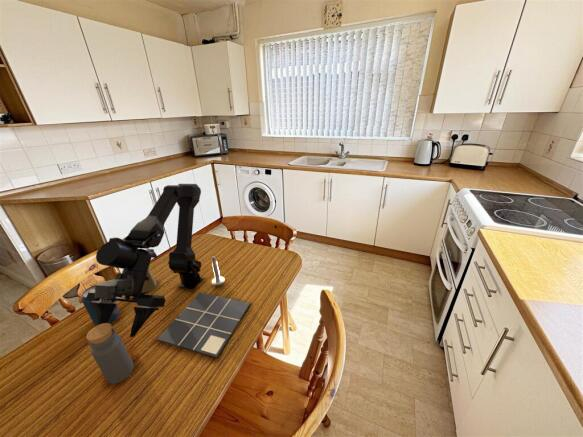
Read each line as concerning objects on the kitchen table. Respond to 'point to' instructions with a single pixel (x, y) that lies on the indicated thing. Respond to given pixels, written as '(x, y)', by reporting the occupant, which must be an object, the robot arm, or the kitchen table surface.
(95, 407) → the kitchen table surface
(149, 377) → the kitchen table surface
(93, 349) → the bottle
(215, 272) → the screw
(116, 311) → the soda can
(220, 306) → the grid board
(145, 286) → the pepper shaker
